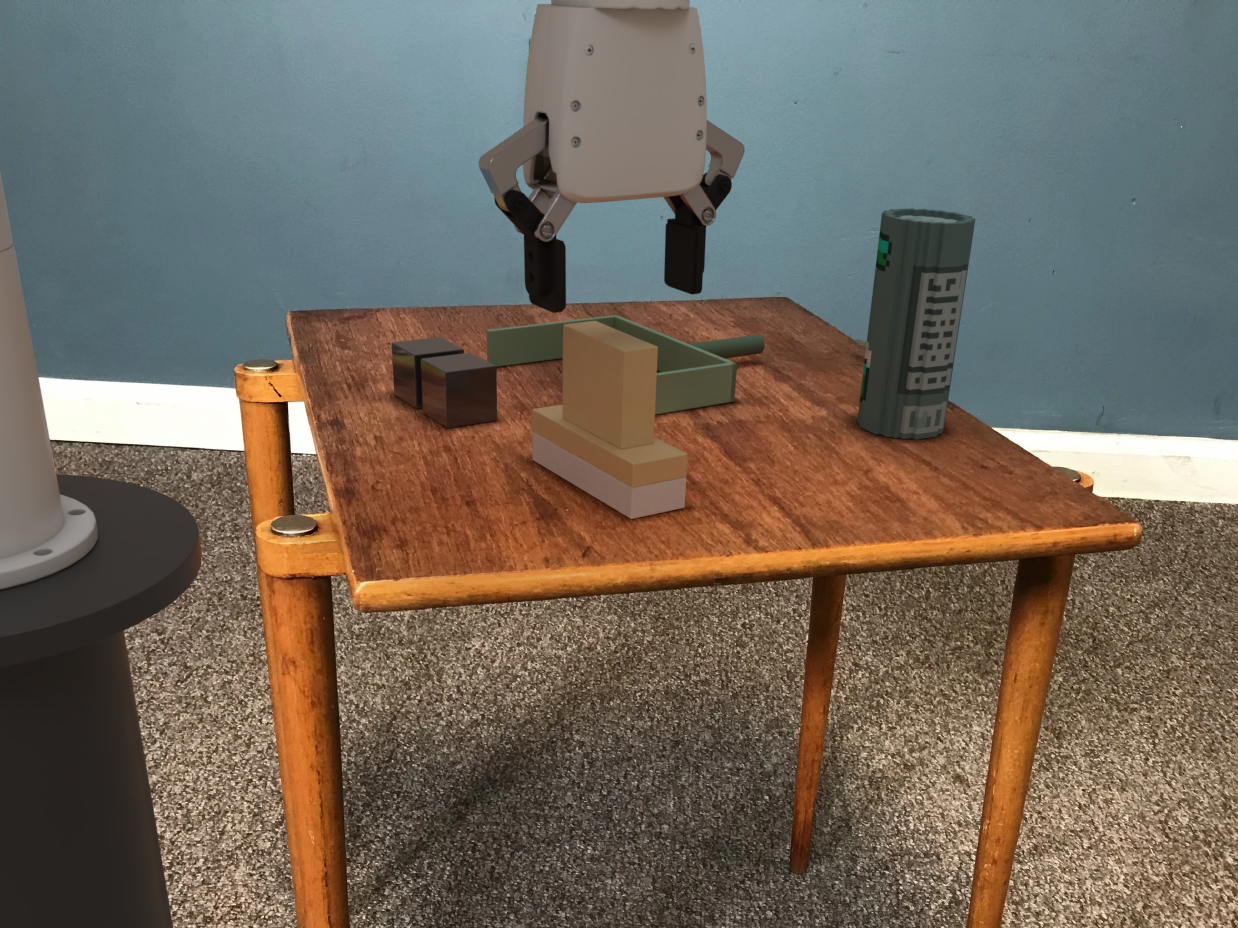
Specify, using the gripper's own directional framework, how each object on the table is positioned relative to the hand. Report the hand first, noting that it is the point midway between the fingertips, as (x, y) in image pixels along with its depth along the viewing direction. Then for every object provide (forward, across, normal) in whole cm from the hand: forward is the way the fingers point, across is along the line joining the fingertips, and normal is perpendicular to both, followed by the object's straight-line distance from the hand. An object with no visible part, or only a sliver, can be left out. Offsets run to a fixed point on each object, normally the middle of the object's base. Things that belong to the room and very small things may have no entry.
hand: (617, 298), depth 78 cm
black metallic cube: (+12, +3, -22) cm, 25 cm away
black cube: (+12, +3, -17) cm, 20 cm away
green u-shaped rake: (+12, -16, -19) cm, 28 cm away
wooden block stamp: (+12, +1, 0) cm, 12 cm away
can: (+12, -25, 0) cm, 28 cm away
